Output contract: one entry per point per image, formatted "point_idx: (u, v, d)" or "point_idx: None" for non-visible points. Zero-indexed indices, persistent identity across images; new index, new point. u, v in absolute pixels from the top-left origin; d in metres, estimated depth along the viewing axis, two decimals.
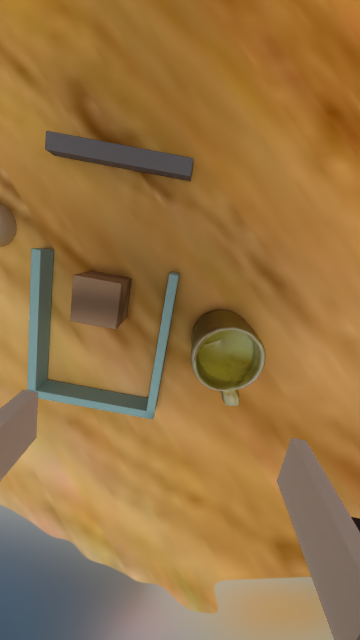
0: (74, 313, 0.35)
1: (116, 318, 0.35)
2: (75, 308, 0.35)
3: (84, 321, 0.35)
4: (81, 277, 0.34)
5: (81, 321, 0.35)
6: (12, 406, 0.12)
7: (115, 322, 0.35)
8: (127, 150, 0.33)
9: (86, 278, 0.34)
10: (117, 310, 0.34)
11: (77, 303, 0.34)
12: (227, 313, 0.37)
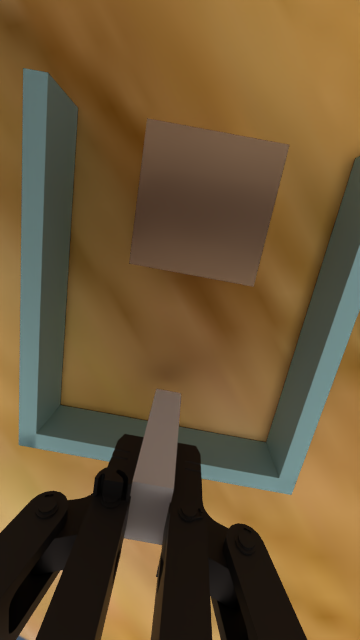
0: (142, 241, 0.13)
1: (259, 255, 0.13)
2: (146, 226, 0.12)
3: (168, 264, 0.13)
4: (170, 126, 0.11)
5: (160, 264, 0.13)
6: (159, 402, 0.14)
7: (255, 266, 0.13)
8: None
9: (185, 129, 0.11)
10: (265, 231, 0.12)
11: (153, 211, 0.12)
12: None
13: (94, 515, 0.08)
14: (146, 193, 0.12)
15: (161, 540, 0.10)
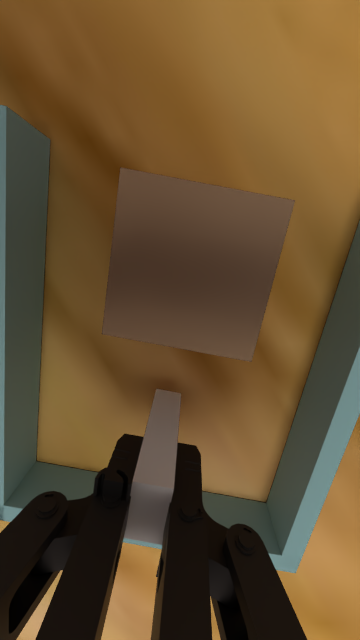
0: (117, 309, 0.10)
1: (258, 326, 0.10)
2: (121, 292, 0.10)
3: (149, 335, 0.11)
4: (149, 177, 0.09)
5: (139, 335, 0.11)
6: (159, 402, 0.14)
7: (253, 339, 0.10)
8: None
9: (167, 180, 0.09)
10: (265, 299, 0.10)
11: (129, 274, 0.10)
12: None
13: (94, 515, 0.08)
14: (121, 254, 0.10)
15: (161, 540, 0.10)
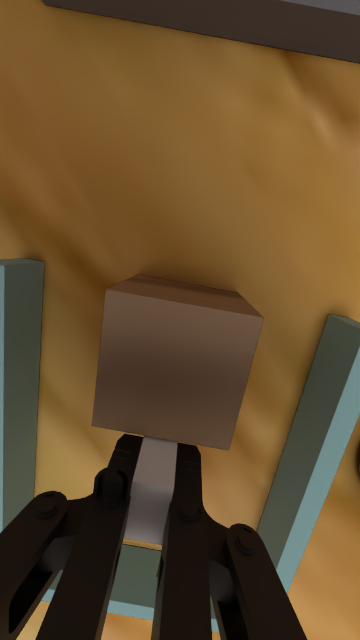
0: (105, 405, 0.11)
1: (234, 420, 0.11)
2: (108, 391, 0.11)
3: (135, 428, 0.12)
4: (131, 297, 0.10)
5: (125, 427, 0.12)
6: None
7: (230, 431, 0.11)
8: None
9: (148, 300, 0.10)
10: (239, 397, 0.11)
11: (115, 377, 0.11)
12: None
13: (94, 515, 0.08)
14: (107, 360, 0.11)
15: (161, 540, 0.10)
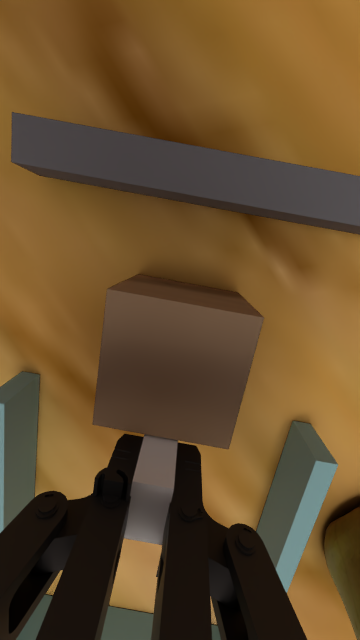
0: (106, 404, 0.11)
1: (234, 419, 0.11)
2: (109, 390, 0.11)
3: (135, 426, 0.12)
4: (133, 297, 0.10)
5: (126, 426, 0.12)
6: None
7: (230, 430, 0.12)
8: (233, 164, 0.12)
9: (149, 300, 0.10)
10: (239, 397, 0.11)
11: (116, 376, 0.11)
12: None
13: (94, 515, 0.08)
14: (108, 359, 0.11)
15: (161, 540, 0.10)
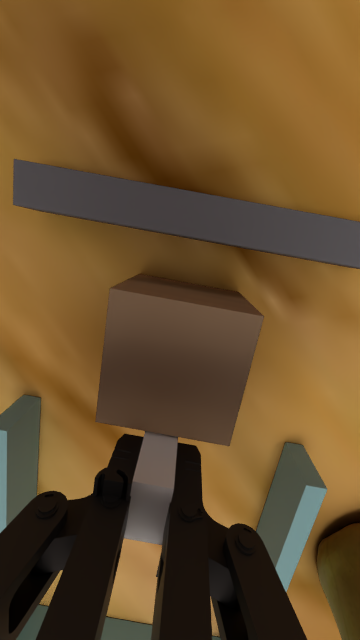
0: (108, 401, 0.12)
1: (234, 416, 0.12)
2: (112, 388, 0.11)
3: (137, 423, 0.12)
4: (135, 296, 0.10)
5: (128, 423, 0.12)
6: None
7: (230, 427, 0.12)
8: (225, 207, 0.13)
9: (151, 299, 0.10)
10: (240, 394, 0.11)
11: (119, 374, 0.11)
12: None
13: (94, 515, 0.08)
14: (111, 357, 0.11)
15: (161, 540, 0.10)
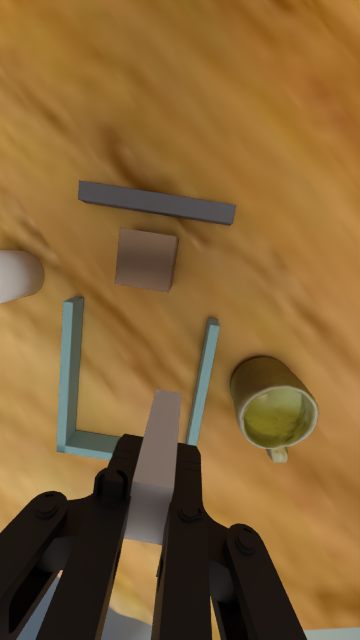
0: (120, 274, 0.30)
1: (169, 279, 0.30)
2: (121, 268, 0.29)
3: (131, 284, 0.30)
4: (129, 230, 0.28)
5: (128, 284, 0.30)
6: (159, 402, 0.14)
7: (168, 284, 0.30)
8: (166, 198, 0.31)
9: (135, 231, 0.28)
10: (171, 269, 0.29)
11: (124, 262, 0.29)
12: (270, 362, 0.35)
13: (94, 515, 0.08)
14: (121, 255, 0.29)
15: (161, 540, 0.10)
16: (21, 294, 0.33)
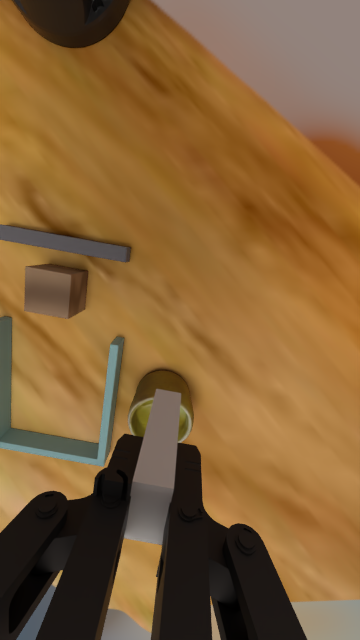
0: (28, 303, 0.36)
1: (68, 308, 0.36)
2: (28, 298, 0.36)
3: (37, 311, 0.37)
4: (33, 268, 0.35)
5: (35, 311, 0.37)
6: (159, 402, 0.14)
7: (67, 312, 0.36)
8: (69, 240, 0.37)
9: (37, 269, 0.35)
10: (68, 300, 0.36)
11: (30, 294, 0.36)
12: (164, 375, 0.42)
13: (94, 515, 0.08)
14: (27, 288, 0.36)
15: (161, 540, 0.10)
16: None
